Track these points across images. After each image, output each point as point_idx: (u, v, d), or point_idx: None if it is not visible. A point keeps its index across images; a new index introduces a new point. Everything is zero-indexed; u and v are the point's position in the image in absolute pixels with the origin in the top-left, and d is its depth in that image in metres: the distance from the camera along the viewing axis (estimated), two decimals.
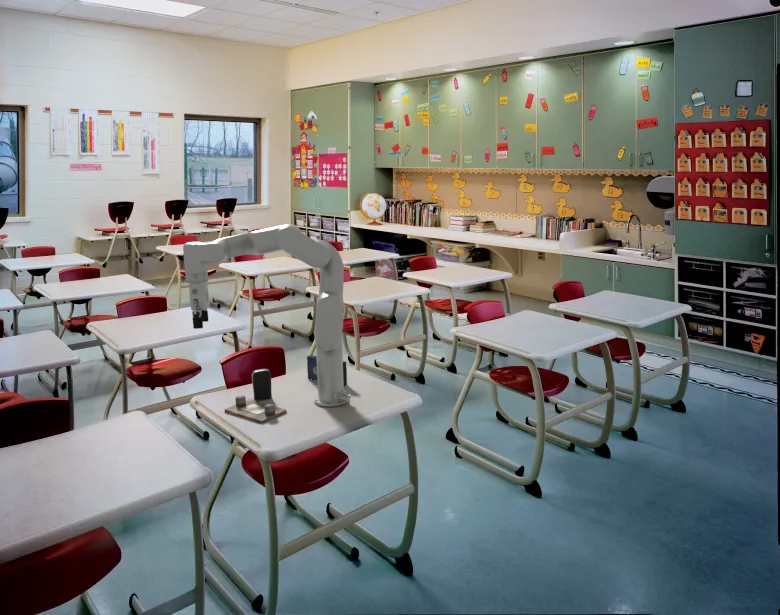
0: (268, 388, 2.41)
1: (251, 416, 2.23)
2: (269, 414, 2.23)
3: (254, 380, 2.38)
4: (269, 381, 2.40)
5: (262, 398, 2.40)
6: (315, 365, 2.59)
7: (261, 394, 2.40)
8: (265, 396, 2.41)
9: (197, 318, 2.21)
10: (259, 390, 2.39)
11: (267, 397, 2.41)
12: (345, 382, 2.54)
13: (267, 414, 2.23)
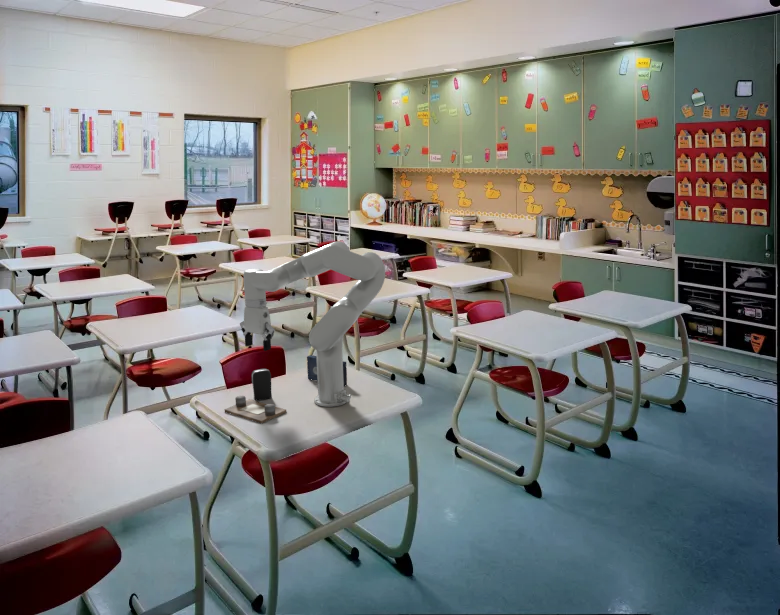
0: (268, 388, 2.41)
1: (251, 416, 2.23)
2: (269, 414, 2.23)
3: (254, 380, 2.38)
4: (269, 381, 2.40)
5: (262, 398, 2.40)
6: (315, 365, 2.59)
7: (261, 394, 2.40)
8: (265, 396, 2.41)
9: (269, 340, 2.34)
10: (259, 390, 2.39)
11: (267, 397, 2.41)
12: (345, 382, 2.54)
13: (267, 414, 2.23)
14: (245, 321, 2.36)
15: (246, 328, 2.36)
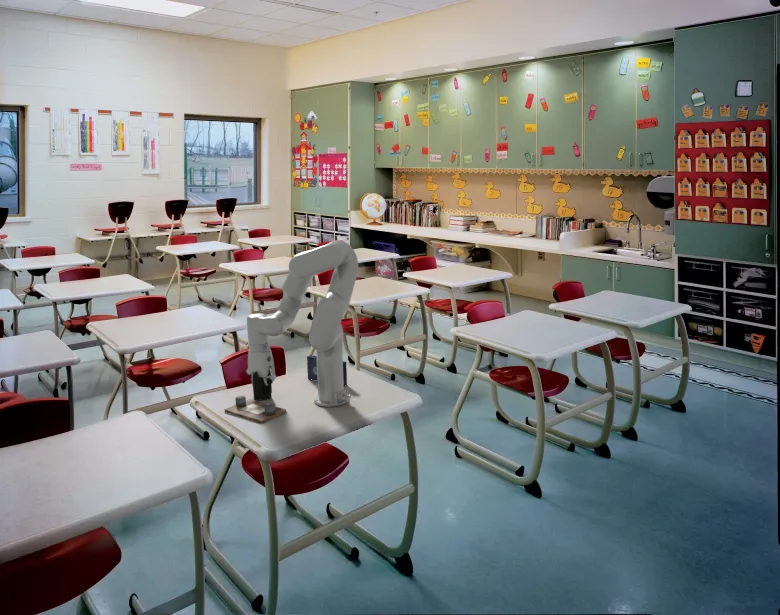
0: None
1: (251, 416, 2.23)
2: (269, 414, 2.23)
3: (254, 380, 2.38)
4: None
5: (262, 398, 2.41)
6: (315, 365, 2.59)
7: (261, 394, 2.40)
8: (265, 396, 2.41)
9: (270, 385, 2.39)
10: (259, 390, 2.39)
11: (267, 397, 2.41)
12: (345, 382, 2.54)
13: (267, 414, 2.23)
14: (249, 364, 2.40)
15: (250, 371, 2.40)
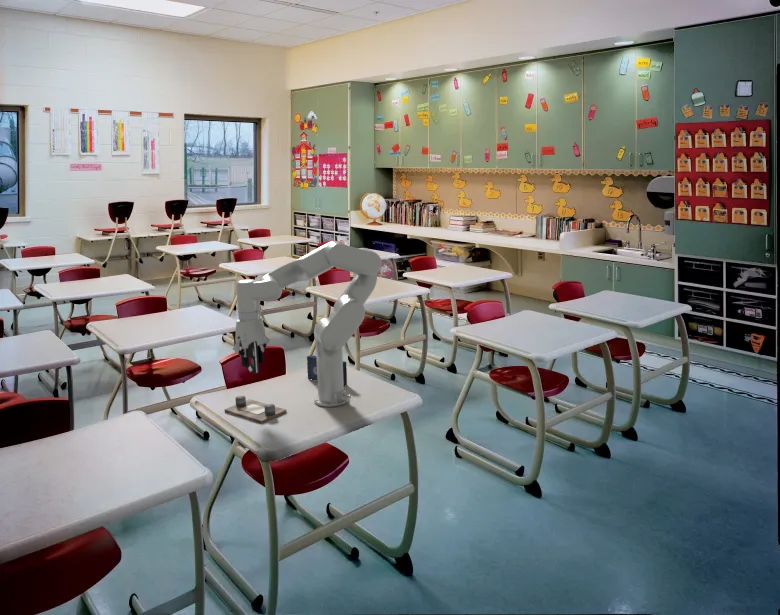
0: None
1: (251, 416, 2.23)
2: (269, 414, 2.23)
3: (257, 350, 2.23)
4: None
5: None
6: (315, 365, 2.59)
7: None
8: None
9: None
10: None
11: None
12: (345, 382, 2.54)
13: (267, 414, 2.23)
14: (246, 338, 2.20)
15: (247, 345, 2.21)
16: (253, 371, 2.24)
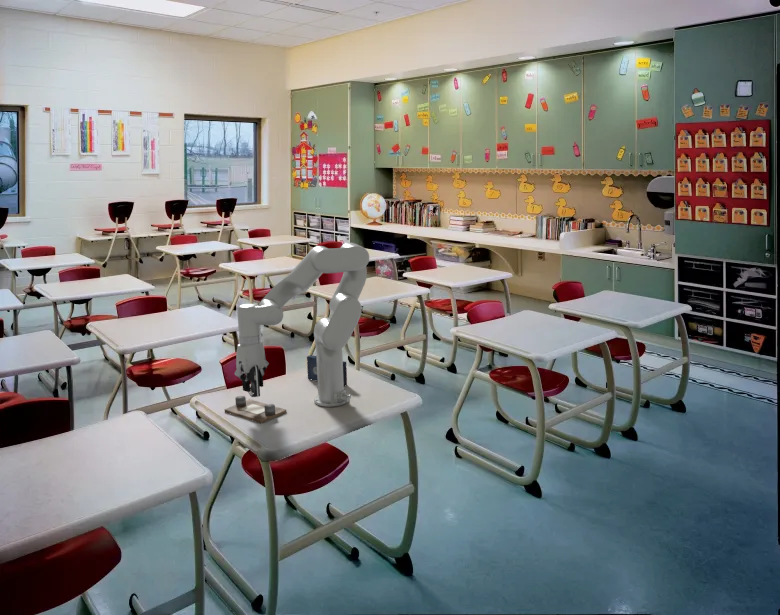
0: None
1: (251, 416, 2.23)
2: (269, 414, 2.23)
3: (258, 374, 2.24)
4: None
5: None
6: (315, 365, 2.59)
7: None
8: None
9: None
10: None
11: None
12: (345, 382, 2.54)
13: (267, 414, 2.23)
14: (247, 362, 2.20)
15: (248, 369, 2.21)
16: (254, 395, 2.24)
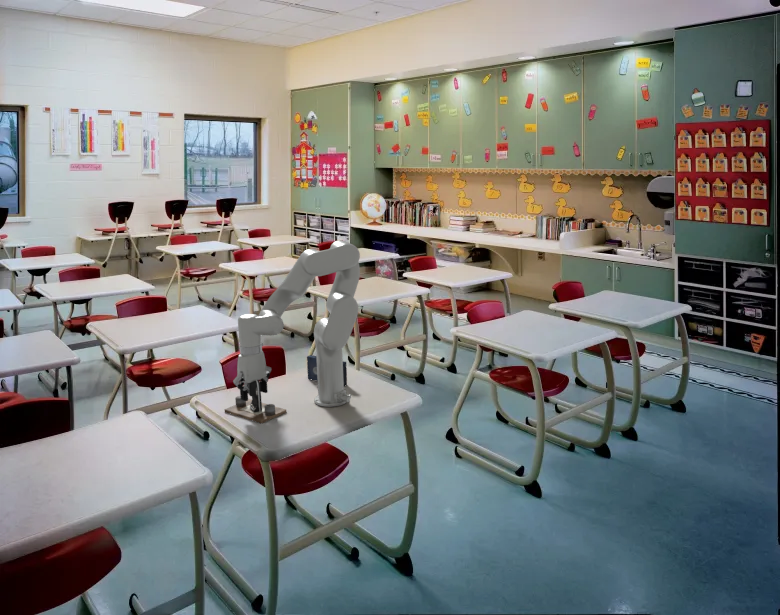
0: None
1: (251, 416, 2.23)
2: (269, 414, 2.23)
3: (260, 389, 2.25)
4: None
5: None
6: (315, 365, 2.59)
7: None
8: None
9: None
10: None
11: None
12: (345, 382, 2.54)
13: (267, 414, 2.23)
14: (248, 372, 2.21)
15: (249, 379, 2.22)
16: (256, 410, 2.25)
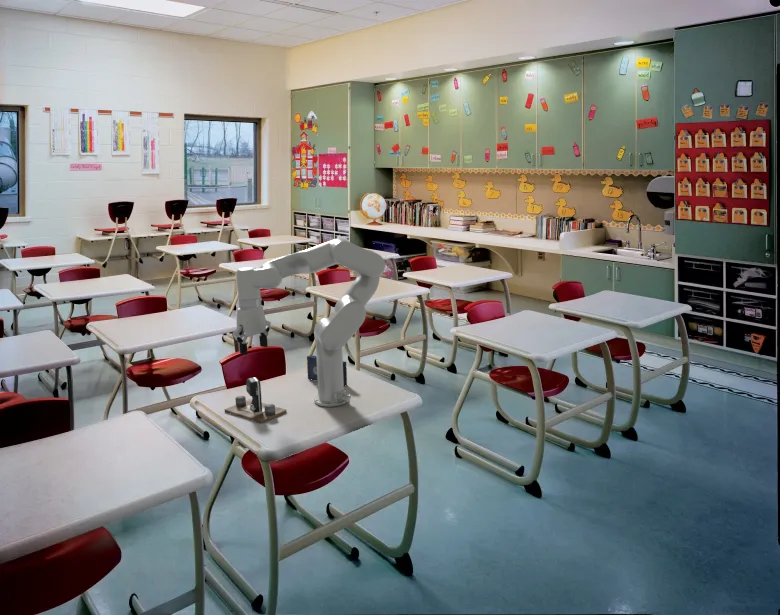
0: None
1: (251, 416, 2.23)
2: (269, 414, 2.23)
3: (260, 389, 2.25)
4: None
5: None
6: (315, 365, 2.59)
7: None
8: None
9: None
10: None
11: None
12: (345, 382, 2.54)
13: (267, 414, 2.23)
14: (248, 325, 2.19)
15: (249, 333, 2.20)
16: (256, 410, 2.25)
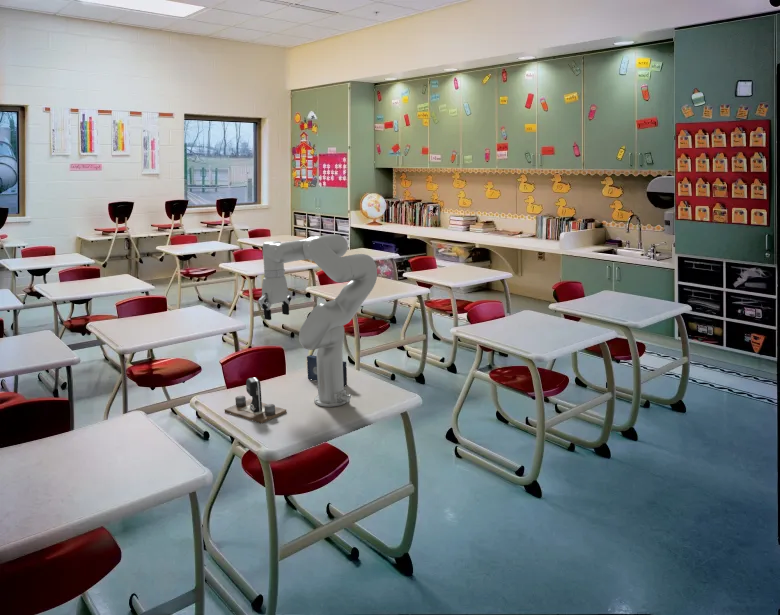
0: None
1: (251, 416, 2.23)
2: (269, 414, 2.23)
3: (260, 389, 2.25)
4: None
5: None
6: (315, 365, 2.59)
7: None
8: None
9: None
10: None
11: None
12: (345, 382, 2.54)
13: (267, 414, 2.23)
14: (272, 294, 2.43)
15: (273, 300, 2.44)
16: (256, 410, 2.25)
